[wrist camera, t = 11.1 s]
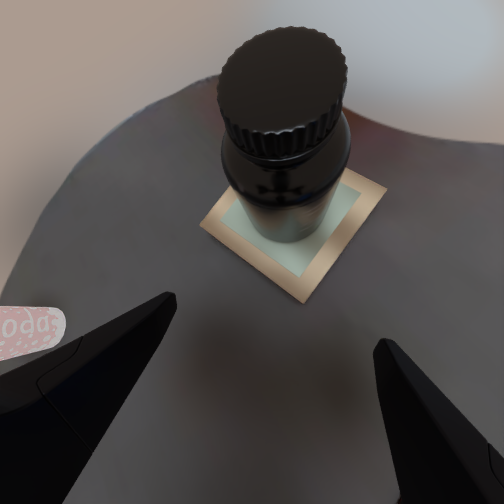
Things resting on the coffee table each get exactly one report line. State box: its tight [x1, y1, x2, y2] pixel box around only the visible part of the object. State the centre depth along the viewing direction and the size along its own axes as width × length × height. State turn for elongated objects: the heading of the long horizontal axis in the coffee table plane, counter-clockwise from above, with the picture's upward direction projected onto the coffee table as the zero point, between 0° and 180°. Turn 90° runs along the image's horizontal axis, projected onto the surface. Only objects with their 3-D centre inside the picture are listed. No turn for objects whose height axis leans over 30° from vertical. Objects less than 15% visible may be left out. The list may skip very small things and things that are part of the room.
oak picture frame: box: [200, 168, 387, 304], centre depth 21 cm, size 12×12×3 cm
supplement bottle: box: [217, 26, 351, 243], centre depth 13 cm, size 7×7×12 cm
